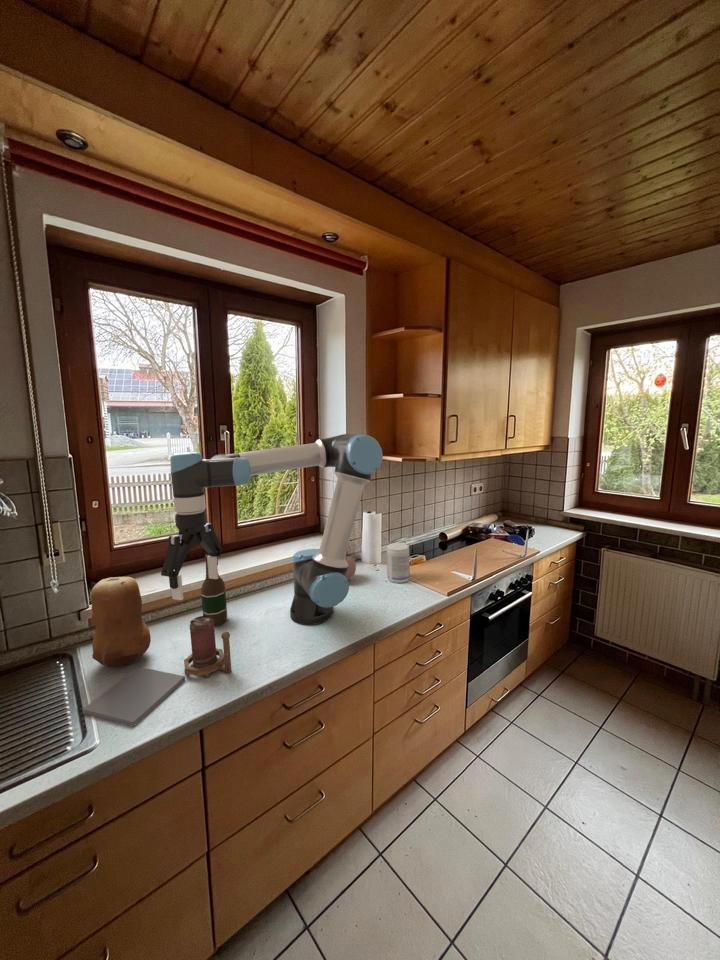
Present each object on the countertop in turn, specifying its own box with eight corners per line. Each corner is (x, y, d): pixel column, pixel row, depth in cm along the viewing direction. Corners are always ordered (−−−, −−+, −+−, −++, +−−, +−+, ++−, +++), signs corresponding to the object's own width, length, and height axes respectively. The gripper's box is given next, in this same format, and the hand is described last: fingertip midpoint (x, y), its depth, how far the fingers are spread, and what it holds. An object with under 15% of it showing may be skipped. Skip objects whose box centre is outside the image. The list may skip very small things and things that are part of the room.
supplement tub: (414, 579, 162) (414, 545, 160) (400, 585, 155) (399, 551, 153) (396, 573, 169) (396, 541, 166) (382, 579, 162) (382, 546, 160)
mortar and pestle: (343, 572, 170) (343, 548, 168) (362, 580, 161) (361, 554, 160) (322, 580, 162) (321, 554, 160) (340, 589, 153) (339, 562, 152)
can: (197, 661, 108) (192, 615, 106) (219, 659, 108) (216, 613, 106) (189, 675, 102) (184, 626, 100) (213, 673, 102) (209, 625, 100)
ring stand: (242, 661, 107) (239, 623, 106) (220, 684, 98) (217, 642, 96) (202, 654, 111) (198, 617, 109) (176, 675, 102) (173, 635, 100)
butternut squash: (141, 643, 117) (132, 566, 114) (160, 659, 109) (151, 576, 105) (88, 665, 107) (76, 581, 103) (104, 685, 98) (93, 594, 95)
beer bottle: (219, 628, 125) (214, 559, 121) (198, 626, 126) (192, 557, 123) (232, 616, 132) (227, 551, 129) (212, 615, 134) (206, 549, 131)
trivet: (185, 680, 100) (184, 676, 100) (133, 726, 85) (133, 721, 84) (139, 671, 104) (139, 666, 104) (82, 713, 89) (82, 709, 89)
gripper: (210, 501, 112) (215, 569, 115) (139, 522, 89) (147, 607, 92) (232, 502, 110) (236, 572, 113) (164, 524, 86) (172, 611, 89)
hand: (196, 588), depth 102 cm, fingers open, 13 cm apart
